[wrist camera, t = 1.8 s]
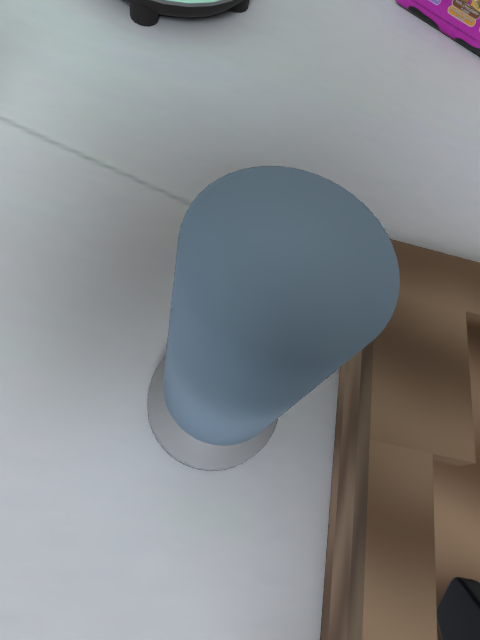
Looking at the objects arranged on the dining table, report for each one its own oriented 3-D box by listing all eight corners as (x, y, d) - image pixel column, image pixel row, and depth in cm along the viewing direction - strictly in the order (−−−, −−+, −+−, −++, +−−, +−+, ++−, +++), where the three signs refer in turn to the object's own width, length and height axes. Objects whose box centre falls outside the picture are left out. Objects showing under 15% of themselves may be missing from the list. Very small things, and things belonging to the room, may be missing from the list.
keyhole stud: (292, 445, 21) (475, 345, 9) (168, 490, 19) (201, 438, 7) (248, 332, 23) (353, 133, 11) (133, 363, 21) (114, 164, 9)
